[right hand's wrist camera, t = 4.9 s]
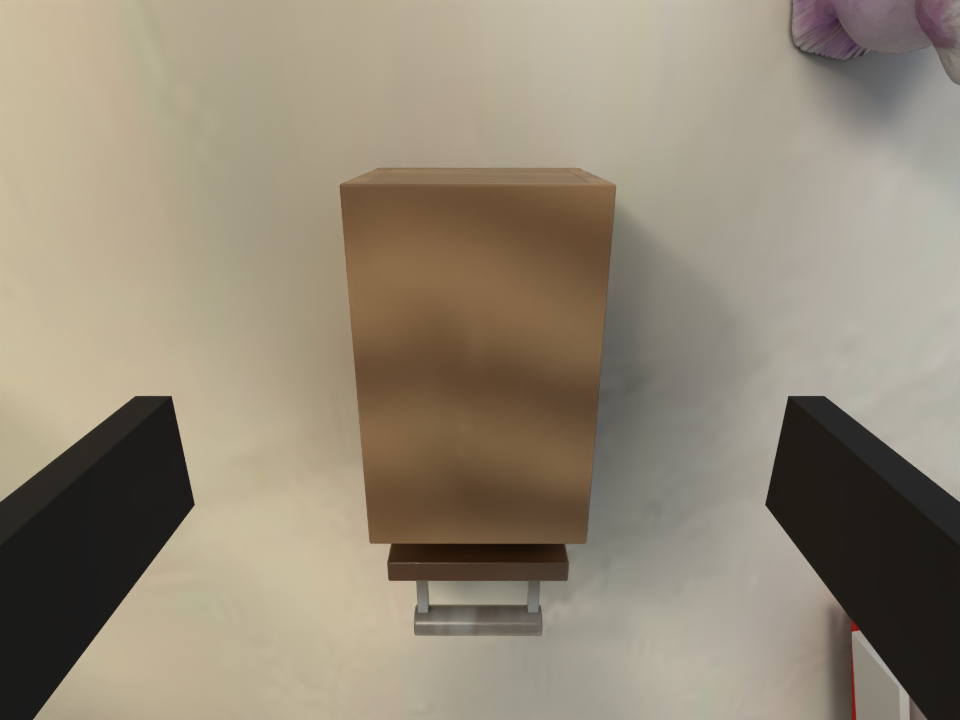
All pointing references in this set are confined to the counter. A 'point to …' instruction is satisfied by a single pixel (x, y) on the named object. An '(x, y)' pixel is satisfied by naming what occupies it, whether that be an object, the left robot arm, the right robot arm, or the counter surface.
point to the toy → (877, 686)
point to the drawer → (478, 566)
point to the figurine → (879, 28)
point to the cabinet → (477, 349)
